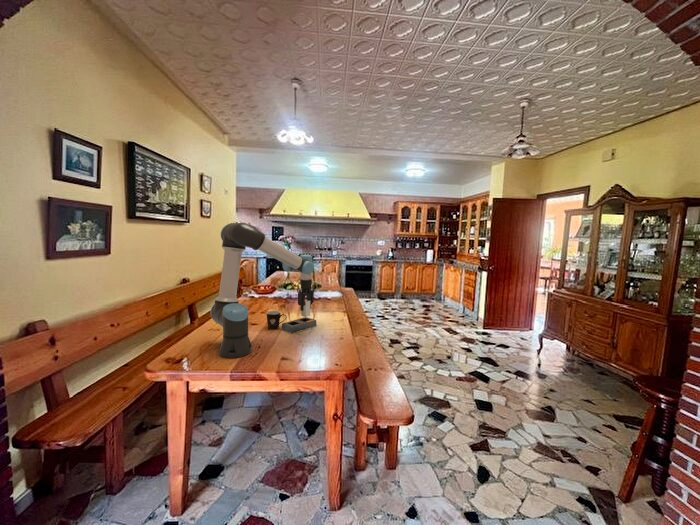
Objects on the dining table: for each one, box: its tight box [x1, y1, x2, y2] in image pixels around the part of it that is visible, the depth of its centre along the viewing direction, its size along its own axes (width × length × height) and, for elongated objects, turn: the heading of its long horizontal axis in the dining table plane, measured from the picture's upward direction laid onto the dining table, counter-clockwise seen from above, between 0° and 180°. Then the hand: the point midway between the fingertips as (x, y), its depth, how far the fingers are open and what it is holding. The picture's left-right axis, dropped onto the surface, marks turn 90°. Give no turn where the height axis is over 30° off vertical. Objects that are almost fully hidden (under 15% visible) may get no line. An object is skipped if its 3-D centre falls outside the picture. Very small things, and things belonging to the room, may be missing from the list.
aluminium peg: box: [300, 299, 311, 317], centre depth 189 cm, size 4×4×10 cm
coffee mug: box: [266, 310, 287, 331], centre depth 183 cm, size 12×9×10 cm
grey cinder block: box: [281, 316, 317, 334], centre depth 186 cm, size 20×10×4 cm, turn 141°
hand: (305, 314), depth 189 cm, fingers closed on aluminium peg, 4 cm apart
